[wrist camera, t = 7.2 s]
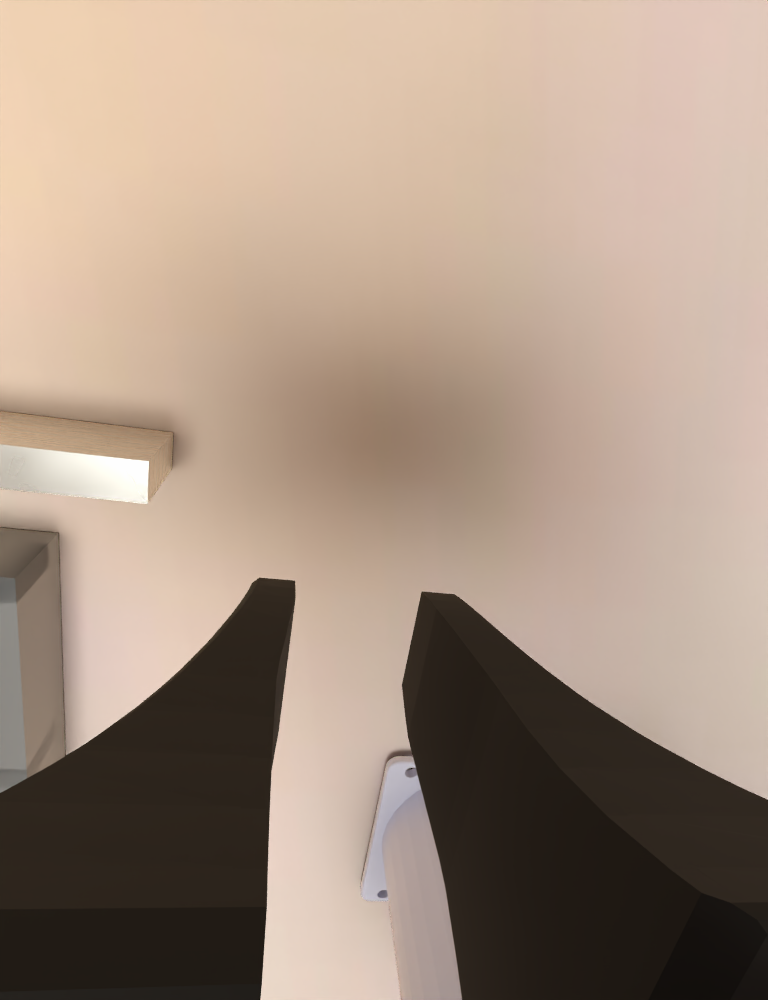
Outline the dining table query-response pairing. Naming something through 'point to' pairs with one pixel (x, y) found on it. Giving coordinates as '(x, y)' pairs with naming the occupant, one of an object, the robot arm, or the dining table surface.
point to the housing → (30, 655)
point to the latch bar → (82, 458)
